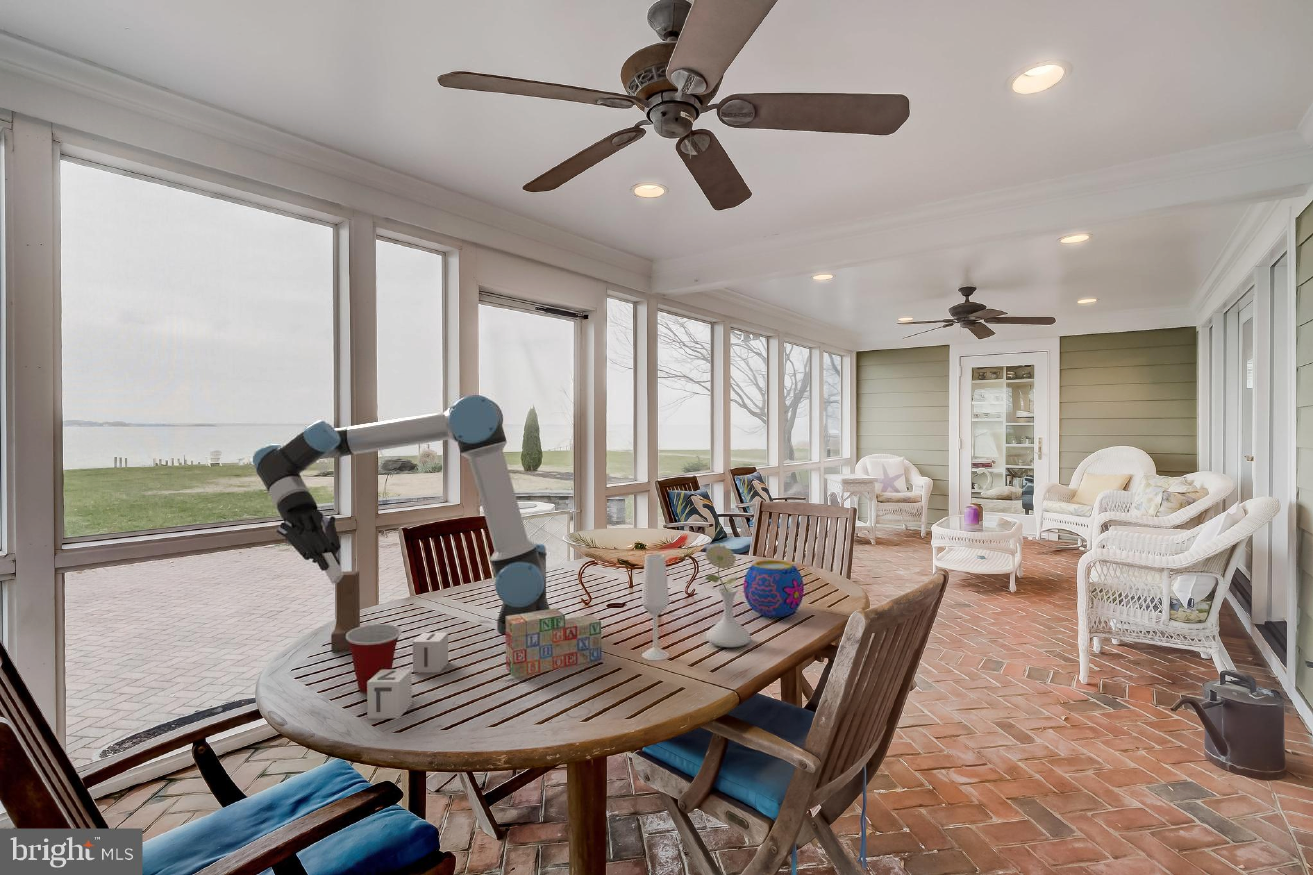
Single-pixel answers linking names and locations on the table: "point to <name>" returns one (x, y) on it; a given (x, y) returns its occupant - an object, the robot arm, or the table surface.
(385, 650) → the plastic cup
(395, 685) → the marked block 7
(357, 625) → the wooden block
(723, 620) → the flower in vase
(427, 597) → the table surface
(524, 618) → the stack of blocks
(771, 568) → the ceramic pot
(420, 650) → the marked block 1
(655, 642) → the champagne flute
